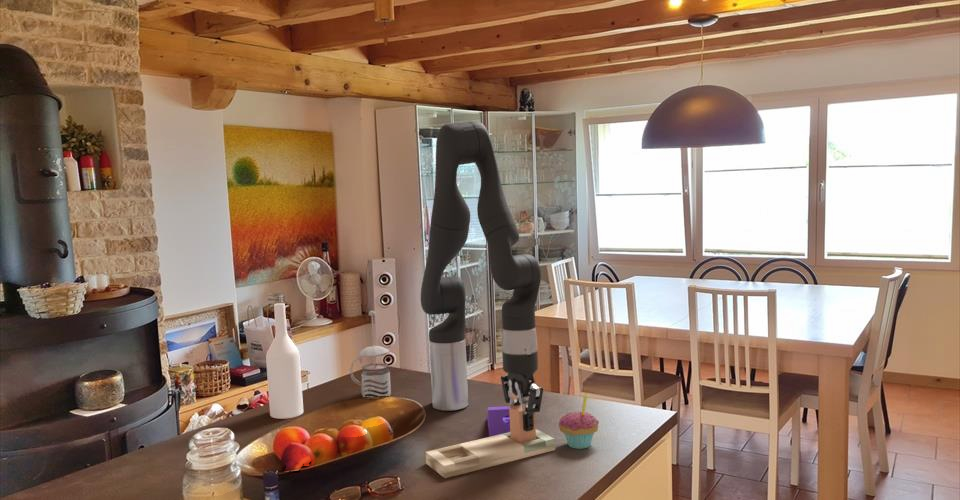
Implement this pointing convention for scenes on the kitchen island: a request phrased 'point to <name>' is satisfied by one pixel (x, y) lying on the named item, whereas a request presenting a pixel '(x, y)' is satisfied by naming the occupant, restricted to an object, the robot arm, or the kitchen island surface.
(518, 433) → the salmon orange rectangular block
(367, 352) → the french press
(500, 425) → the bracket
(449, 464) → the rail
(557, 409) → the kitchen island surface
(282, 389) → the bottle
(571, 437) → the cupcake
